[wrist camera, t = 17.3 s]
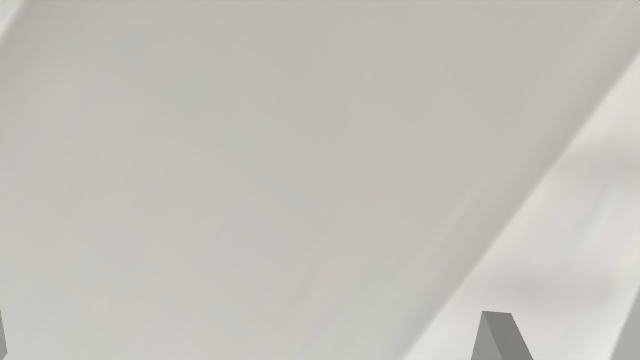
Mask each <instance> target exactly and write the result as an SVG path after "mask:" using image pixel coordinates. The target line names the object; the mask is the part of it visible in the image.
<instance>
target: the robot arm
mask: <svg viewBox="0 0 640 360" xmlns="http://www.w3.org/2000/svg"><path fill="white" fill-rule="evenodd" d="M6 354H7V348H6V342H5V336H4V329H3V323H2V317H1V311H0V360H2V359H3V358H4V357H5V356H6ZM471 360H533V358H532V356H531V354H530V352H529V350H528V348H527V346H526V344H525V342H524V340H523V338H522V336H521V334H520V331H519V329H518V327H517V325H516V323H515V321H514V319H513V317H512V315H511V313H501V312H489V311H482V315H481V319H480V323H479V328H478V332H477V336H476V341H475V345H474V349H473V354H472V358H471Z"/></svg>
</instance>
